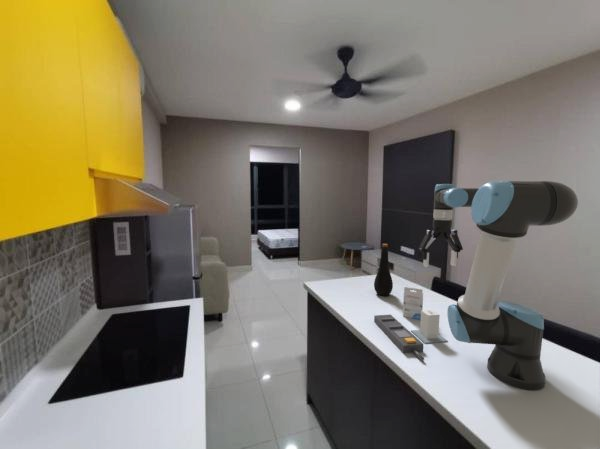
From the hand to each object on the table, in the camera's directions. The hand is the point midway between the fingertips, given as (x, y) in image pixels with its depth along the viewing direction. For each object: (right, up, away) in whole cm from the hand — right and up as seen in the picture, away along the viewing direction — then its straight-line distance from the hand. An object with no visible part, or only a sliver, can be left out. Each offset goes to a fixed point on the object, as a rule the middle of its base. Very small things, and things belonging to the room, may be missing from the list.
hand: (439, 266), depth 126 cm
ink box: (-8, -26, +10) cm, 29 cm away
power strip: (-22, -28, -12) cm, 38 cm away
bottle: (-14, -23, +39) cm, 47 cm away
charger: (-9, -28, -10) cm, 31 cm away
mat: (-9, -28, -10) cm, 31 cm away
